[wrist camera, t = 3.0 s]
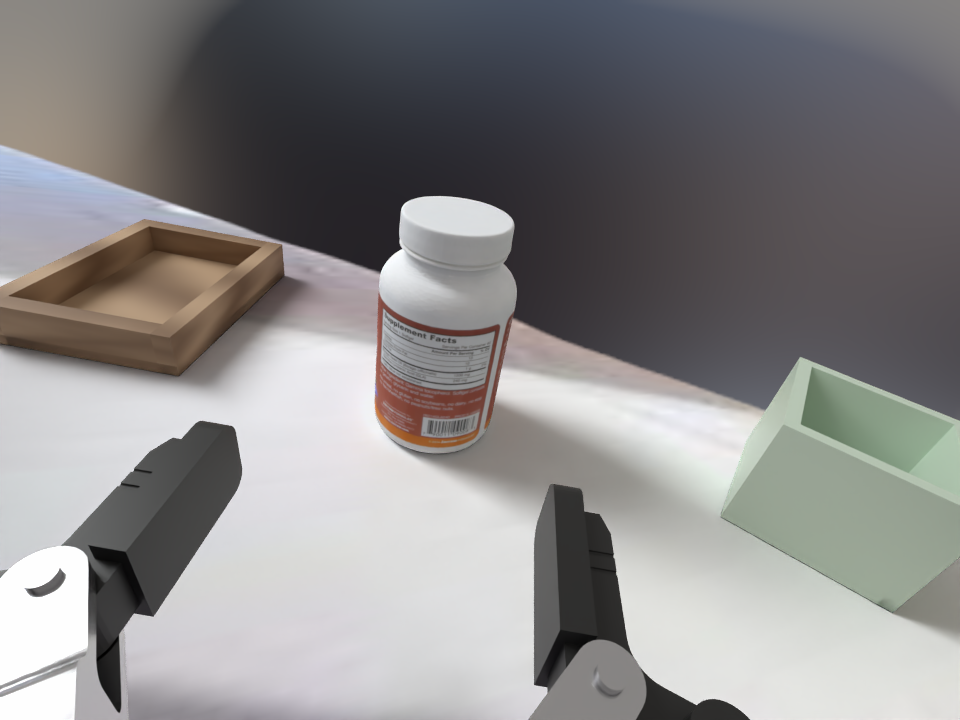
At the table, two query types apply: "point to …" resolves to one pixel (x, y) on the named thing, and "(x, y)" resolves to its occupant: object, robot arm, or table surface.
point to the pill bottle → (443, 323)
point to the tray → (140, 296)
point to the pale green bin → (852, 484)
